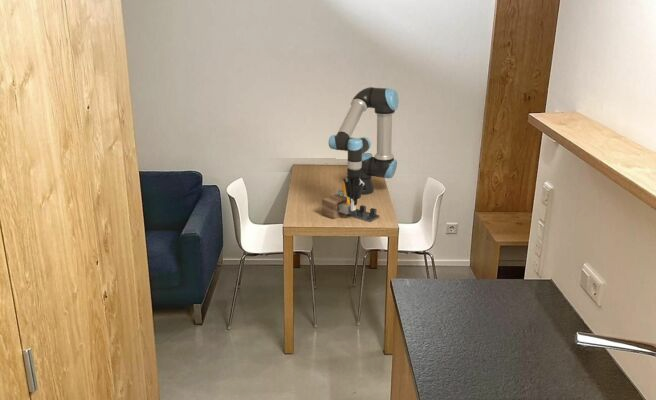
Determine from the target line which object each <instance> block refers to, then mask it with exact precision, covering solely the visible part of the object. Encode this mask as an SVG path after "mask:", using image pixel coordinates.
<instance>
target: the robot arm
mask: <svg viewBox="0 0 656 400" xmlns="http://www.w3.org/2000/svg"><path fill="white" fill-rule="evenodd" d="M398 107H399V94H398V92H397V91H396V89H392V88H384V87H383V88H382V87H372V86H370V87H369V86H368V87H366V88H363V89H362V90H360V91H359V92H357V93H356V95H355V96H354V97H353V98H352V100H351V102H350V108H349V109H348V110H347V113H346V115H345V117H344V119H343V121H342V124H341V126H340V127H339V129H338V131H337V133H336V134H334V135H330V136H329V138H328V147H329V148H330V149H331V150H336V151H344V152H347V166H346V167H347V169H346V170H347V171H346V175H347V177H345V178H343V180H342V182H343V181H344V183H345V188H346V194H347V197H349V198H350V204H351V211H354V210H356V209H357V205H358V200H359V199H361V197H362V195H369V194H372V193H374V190H375V186H374V184H373V183H374V182H373V181H372V180H373V179H372V177H376V178H382V179H392V178H393V177H394V176H395V173H396V170H397V167H398V166H397V165H398V161H397V159H395V156H394V154H393V153H392V142H393V141H392V139H393V138H392V132H393V131H392V130H393V129H392V128H393V115H394V114H395V113H396V112H395V111H397V109H398ZM369 108H371V109H374V113H375V115H376V153H375V154H374V156H373V154H372V153H371V152H368V151H369V150H370V149H371V146H372V142H371V140H370V139H369V138H368V137H359V138H358V137H352V136H353V133H354V131H355V129H356V126H357V125H358V123H359V122H360V119H361V117H362V115H363V113H364V112H365V111H367V109H369Z"/></svg>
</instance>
